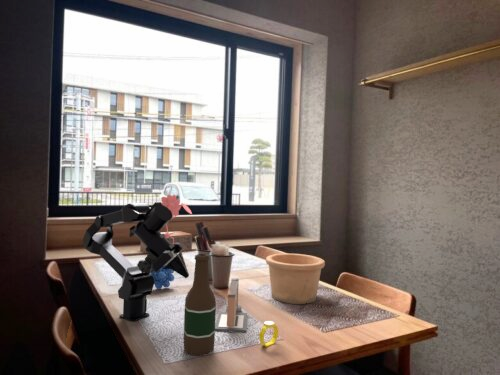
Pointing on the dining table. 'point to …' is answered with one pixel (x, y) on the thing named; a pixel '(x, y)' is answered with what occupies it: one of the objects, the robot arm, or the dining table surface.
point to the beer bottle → (200, 311)
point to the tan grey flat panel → (232, 301)
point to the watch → (263, 330)
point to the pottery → (294, 277)
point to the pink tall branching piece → (173, 208)
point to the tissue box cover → (176, 240)
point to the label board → (238, 324)
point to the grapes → (163, 277)
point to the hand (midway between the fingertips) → (187, 276)
